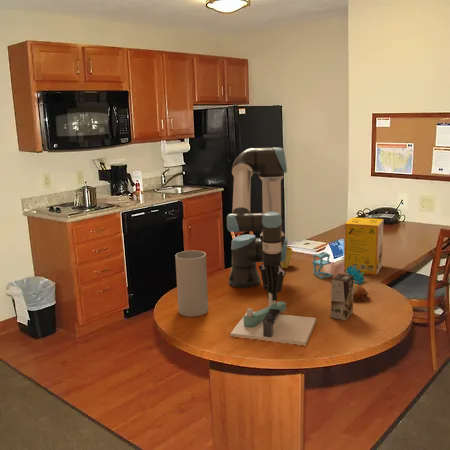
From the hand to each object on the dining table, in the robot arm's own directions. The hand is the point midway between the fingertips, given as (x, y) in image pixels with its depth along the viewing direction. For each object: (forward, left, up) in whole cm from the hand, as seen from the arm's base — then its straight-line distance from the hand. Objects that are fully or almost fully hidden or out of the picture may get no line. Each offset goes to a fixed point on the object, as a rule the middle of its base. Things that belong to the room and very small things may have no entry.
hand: (272, 307), depth 208 cm
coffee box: (+27, +7, -4) cm, 28 cm away
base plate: (+4, -13, -3) cm, 14 cm away
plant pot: (-11, +65, -4) cm, 66 cm away
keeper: (+4, -17, -2) cm, 18 cm away
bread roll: (+31, +28, -4) cm, 42 cm away
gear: (+29, +48, -4) cm, 56 cm away
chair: (+11, +55, -4) cm, 56 cm away
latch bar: (-1, -7, -2) cm, 8 cm away
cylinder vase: (-33, -5, -4) cm, 33 cm away
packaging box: (+30, +71, -4) cm, 77 cm away
